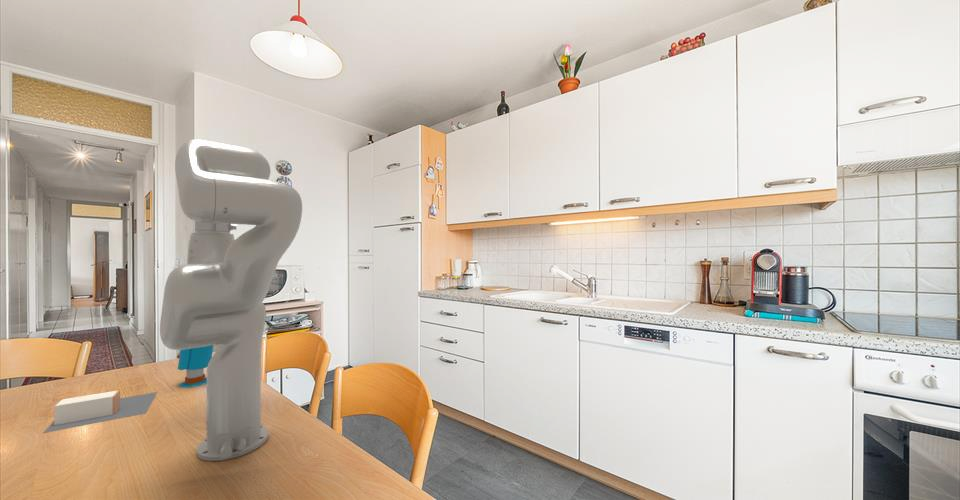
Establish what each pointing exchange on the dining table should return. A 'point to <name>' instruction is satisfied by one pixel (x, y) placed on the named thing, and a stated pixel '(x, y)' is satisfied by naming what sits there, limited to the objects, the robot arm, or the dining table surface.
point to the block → (87, 407)
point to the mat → (127, 409)
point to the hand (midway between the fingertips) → (212, 297)
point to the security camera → (194, 365)
